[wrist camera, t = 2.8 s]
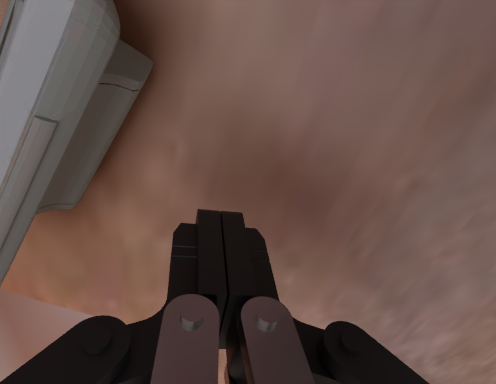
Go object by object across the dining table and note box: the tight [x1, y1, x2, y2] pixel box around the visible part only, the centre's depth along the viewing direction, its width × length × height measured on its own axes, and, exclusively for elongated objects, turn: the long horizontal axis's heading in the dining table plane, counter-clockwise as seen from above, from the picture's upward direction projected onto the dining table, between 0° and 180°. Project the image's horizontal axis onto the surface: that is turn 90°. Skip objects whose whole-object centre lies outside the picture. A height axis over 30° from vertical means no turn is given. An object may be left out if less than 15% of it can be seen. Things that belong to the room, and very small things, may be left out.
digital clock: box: [0, 0, 154, 286], centre depth 16 cm, size 16×9×11 cm, turn 133°
